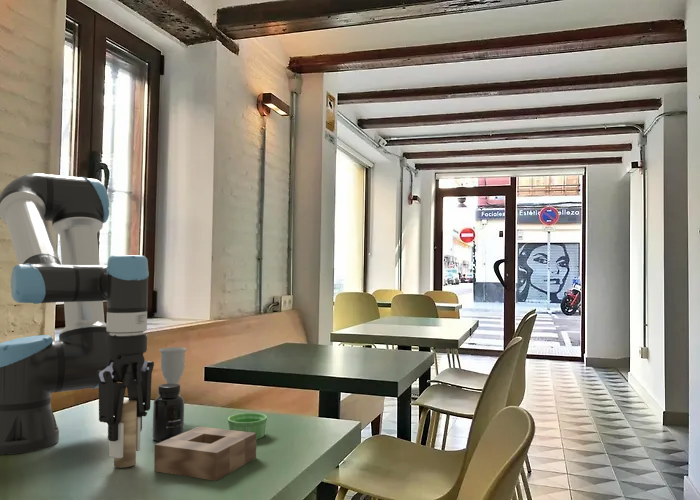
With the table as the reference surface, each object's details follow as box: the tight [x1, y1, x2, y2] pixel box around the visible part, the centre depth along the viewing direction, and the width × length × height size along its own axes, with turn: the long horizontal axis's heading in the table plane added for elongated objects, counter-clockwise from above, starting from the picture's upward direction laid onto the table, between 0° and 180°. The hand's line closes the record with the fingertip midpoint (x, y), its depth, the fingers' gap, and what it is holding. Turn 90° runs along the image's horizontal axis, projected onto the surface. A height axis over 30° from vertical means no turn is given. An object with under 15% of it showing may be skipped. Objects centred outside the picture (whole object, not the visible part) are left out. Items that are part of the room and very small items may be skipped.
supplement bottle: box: [152, 383, 185, 442], centre depth 133 cm, size 7×7×12 cm
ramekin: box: [227, 412, 268, 441], centre depth 134 cm, size 9×9×4 cm
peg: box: [113, 399, 137, 469], centre depth 113 cm, size 4×4×12 cm
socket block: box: [153, 426, 257, 482], centre depth 115 cm, size 14×14×5 cm
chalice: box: [159, 346, 187, 384], centre depth 150 cm, size 7×7×18 cm
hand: (125, 452), depth 113 cm, fingers closed on peg, 4 cm apart
